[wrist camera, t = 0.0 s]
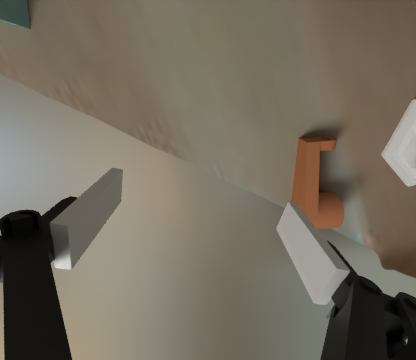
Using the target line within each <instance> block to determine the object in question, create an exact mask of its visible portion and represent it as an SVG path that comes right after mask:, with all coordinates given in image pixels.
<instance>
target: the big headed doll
mask: <svg viewBox="0 0 416 360" xmlns="http://www.w3.org/2000/svg"><path fill="white" fill-rule="evenodd" d="M381 156H382V157H383V158H384V159H385V161H386V162H387V163H388V164H389V165H390V167H391V168H392V169H393V170H394V171H395V173H396V174H397V175H398V176H399V177H400V179H401V180H402V181H403V182H404V183H405V185H407V186H413V185H416V99H413V100H412V101H411V102H410V104H409V106H408V108H407V110H406V111H405V113H404V115H403V117H402V118H401V120H400V122H399V124H398V125H397V127H396V129H395V131H394V133H393V134H392V136H391V138H390V140H389V141H388V143H387V145H386V147H385V149H384V150H383V152H382V154H381Z"/></svg>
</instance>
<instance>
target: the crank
mask: <svg viewBox="0 0 416 360" xmlns="http://www.w3.org/2000/svg"><path fill="white" fill-rule="evenodd" d="M336 141H337V138H335V137H329V136H321V137H308V138H299V140H298V149H297V157H296V166H295V174H294V183H293V192H292V200H291V202H292V203H297V204H298V205H299V207H300V208H301V209H302V210H303V212H304V213H305V214H306V215H307V217H308V218H309V219H310V221H311V222H312V223H313V224H314V226H315V227H316V228H317V229H320V228H334V227H339V226H341V224H342V223H343V220H344V208H343V204H342V202H341V200H340V198H339V197H338V196H337V195H336V194H335V193H333V192H323V193H319V161H320V151H327V150H334V149H335V146H336Z"/></svg>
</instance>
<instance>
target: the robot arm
mask: <svg viewBox="0 0 416 360" xmlns="http://www.w3.org/2000/svg"><path fill="white" fill-rule="evenodd" d="M122 174H123V170H121V169H116V168H111V169H110V170H109V171H108V172H107V173H106V174H105V175H103V176H102V177H101V178H100V179H99V180H98V181H97V182H95V183H94V184H93V185H92V186H91V187H90V188H89V189H88V190H87V191H85V192H84V193H83V194H82V195H81V196H80V197H79V198H77V197H71V196H70V197H68V198H66V199H63V200H61V201H60V202H59V203H58V204H56V205H55V206H54V207H52V208H51V209H50V211H47V212H46V213H45V214H44V215H42V216H41V215H40V213H39V212H36V211H34V210H20V211H16V212H12V213H9V214H7V215H5V216H4V217H2V218H1V219H0V231H1V235H2V236H0V283H3V291H4V350H5V351H4V352H5V360H72V357H71V352H70V348H69V343H68V339H67V334H66V330H65V326H64V321H63V317H62V312H61V308H60V303H59V299H58V295H57V290H56V286H55V281H54V277H53V273H52V268H51V264H50V263H51V262H52V261H53V260H54V262H55V268H62V269H69V270H72V268H73V267H74V266H75V264H76V263H77V261H78V260H79V259H80V257H81V256H82V254H83V253H84V252H85V250H86V249H87V248H88V246H89V245H90V243H91V242H92V241H93V239H94V238H95V237H96V235H97V234H98V232H99V231H100V230H101V228H102V227H103V226H104V224H105V223H106V221H107V220H108V219H109V217H110V216H111V215H112V213H113V212H114V210H115V209H116V207H117V206H118V205H119V203H120V202H121V192H122ZM276 229H277V231H278V233H279V235H280V237H281V239H282V241H283V243H284V245H285V247H286V249H287V251H288V253H289V255H290V257H291V259H292V261H293V263H294V265H295V267H296V269H297V271H298V273H299V275H300V277H301V279H302V281H303V283H304V285H305V287H306V289H307V291H308V293H309V295H310V297H311V299H312V301H313V303H314V304H322V305H326V304H327V303H328V302H329V300H330V299H331V298H332V300H333V301H334V303H335V305H334V306H333V308H332V309H331V311H330V312H329V313H328V315H327V316H326V318H329V317H330V320H329V325H328V329H327V333H326V337H325V342H324V346H323V351H322V355H321V360H416V298H415V297H413V296H411V295H409V294H406V293H403V292H399V293H398V294H397V295H396V297H395V298H394V297H391V296H389V295H386V294H384V293H382V291H381V290H380V288H379V287H378V286H377V285H375V283H373V282H372V281H370V280H369V279H367V278H365V277H362V276H358V275H357V273H356V272H355V271H354V269H353V268H352V267H351V266H350V265H349V263H348V262H347V261H346V260H345V259H344V257H343V256H342V255H341V254H340V252H339V251H338V250H337V249H336V247H335V246H333V245H332V244H331V243H330V242H329V241H326V239H325V238H324V237H323V236H322V234H321V233H320V232H319V231H318V229H317V228H316V227H315V226H314V224H313V223H312V222H311V221H310V219H309V218H308V217H307V215H306V214H305V213H304V212H303V210H302V209H301V208H300V207H299V205H298V204H297V203H292V202H288V204H287V206H286V208H285V210H284V213H283V215H282V217H281V220H280V221H279V224H278V226H277V228H276ZM407 338H408V342H407V344H406V341H405V340H406V339H407Z"/></svg>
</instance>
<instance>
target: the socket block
mask: <svg viewBox="0 0 416 360" xmlns="http://www.w3.org/2000/svg"><path fill="white" fill-rule="evenodd" d="M0 21H1V22H5V23H9V24H13V25H17V26H21V27H24V28H28V29H30V22H29V14H28V5H27V0H0Z"/></svg>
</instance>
